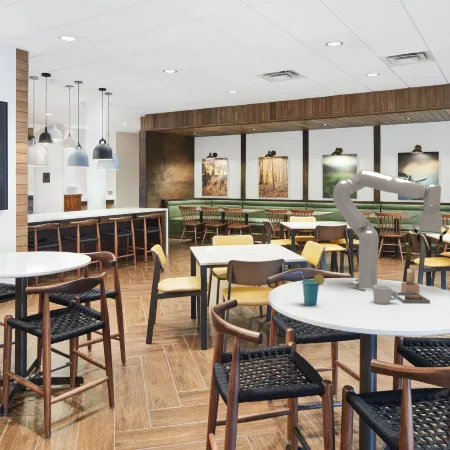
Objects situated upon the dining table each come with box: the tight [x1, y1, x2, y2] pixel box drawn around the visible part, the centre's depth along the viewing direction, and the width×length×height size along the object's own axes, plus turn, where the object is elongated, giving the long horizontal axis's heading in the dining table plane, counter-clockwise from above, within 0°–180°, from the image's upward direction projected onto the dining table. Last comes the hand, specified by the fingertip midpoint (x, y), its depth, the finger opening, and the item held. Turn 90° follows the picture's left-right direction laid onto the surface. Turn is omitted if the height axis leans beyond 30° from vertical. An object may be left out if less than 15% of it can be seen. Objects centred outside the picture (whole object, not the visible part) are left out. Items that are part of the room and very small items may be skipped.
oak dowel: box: [406, 268, 416, 285], centre depth 230 cm, size 4×4×12 cm
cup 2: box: [372, 284, 399, 305], centre depth 210 cm, size 11×8×8 cm
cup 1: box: [292, 270, 325, 307], centre depth 209 cm, size 14×8×15 cm, turn 78°
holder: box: [401, 281, 420, 294], centre depth 230 cm, size 6×6×6 cm
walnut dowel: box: [404, 294, 423, 300], centre depth 213 cm, size 7×3×3 cm, turn 89°
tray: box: [391, 291, 431, 305], centre depth 218 cm, size 12×16×2 cm
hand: (429, 243), depth 234 cm, fingers open, 9 cm apart
